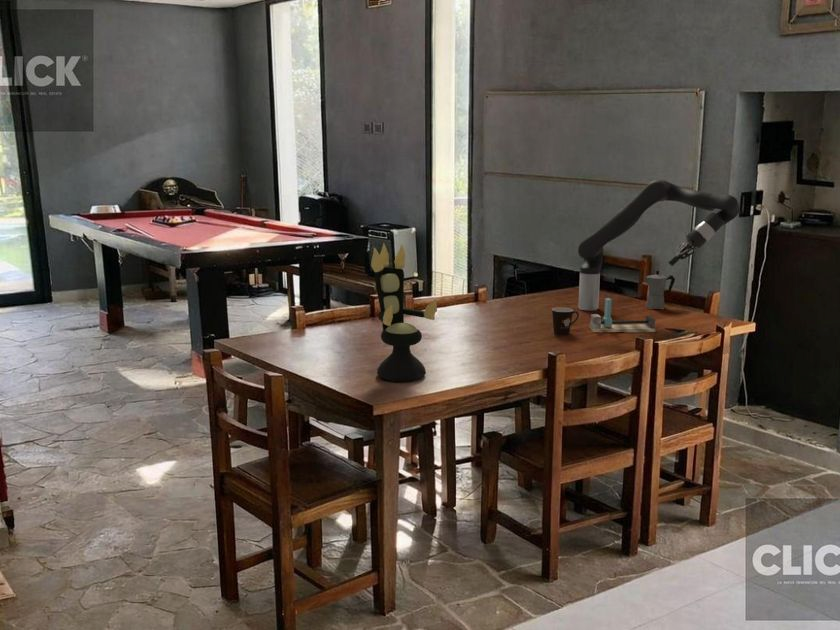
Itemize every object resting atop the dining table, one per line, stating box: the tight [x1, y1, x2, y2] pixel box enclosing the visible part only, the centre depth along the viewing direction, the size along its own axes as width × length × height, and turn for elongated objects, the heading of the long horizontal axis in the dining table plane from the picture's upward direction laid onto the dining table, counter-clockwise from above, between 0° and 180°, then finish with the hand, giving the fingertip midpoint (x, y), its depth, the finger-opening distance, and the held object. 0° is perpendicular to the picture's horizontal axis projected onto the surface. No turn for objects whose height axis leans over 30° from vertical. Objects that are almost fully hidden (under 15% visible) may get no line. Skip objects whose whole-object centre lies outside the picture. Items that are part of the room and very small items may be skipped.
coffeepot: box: [643, 270, 676, 310], centre depth 400 cm, size 15×9×18 cm, turn 98°
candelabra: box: [370, 243, 438, 383], centre depth 287 cm, size 19×22×45 cm
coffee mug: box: [551, 307, 580, 336], centre depth 351 cm, size 12×9×10 cm
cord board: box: [588, 313, 656, 334], centre depth 357 cm, size 26×8×6 cm, turn 94°
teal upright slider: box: [601, 297, 613, 327], centre depth 356 cm, size 3×4×12 cm
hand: (670, 264), depth 354 cm, fingers closed
